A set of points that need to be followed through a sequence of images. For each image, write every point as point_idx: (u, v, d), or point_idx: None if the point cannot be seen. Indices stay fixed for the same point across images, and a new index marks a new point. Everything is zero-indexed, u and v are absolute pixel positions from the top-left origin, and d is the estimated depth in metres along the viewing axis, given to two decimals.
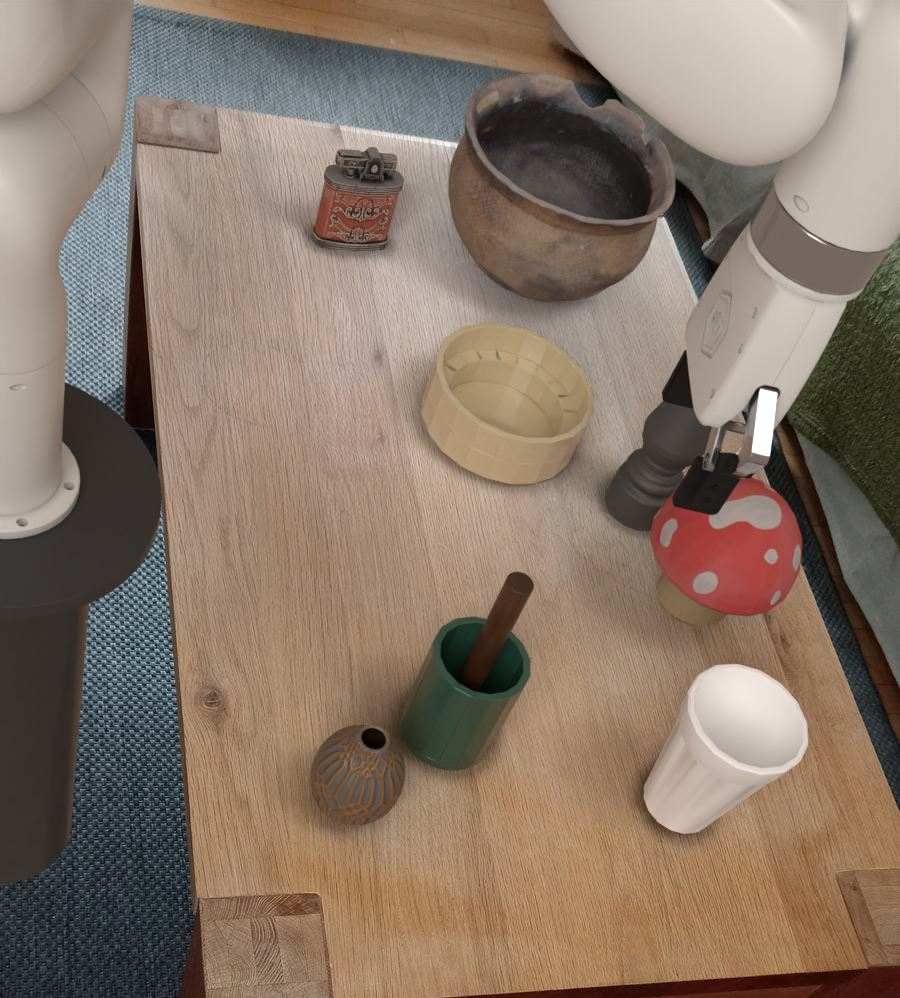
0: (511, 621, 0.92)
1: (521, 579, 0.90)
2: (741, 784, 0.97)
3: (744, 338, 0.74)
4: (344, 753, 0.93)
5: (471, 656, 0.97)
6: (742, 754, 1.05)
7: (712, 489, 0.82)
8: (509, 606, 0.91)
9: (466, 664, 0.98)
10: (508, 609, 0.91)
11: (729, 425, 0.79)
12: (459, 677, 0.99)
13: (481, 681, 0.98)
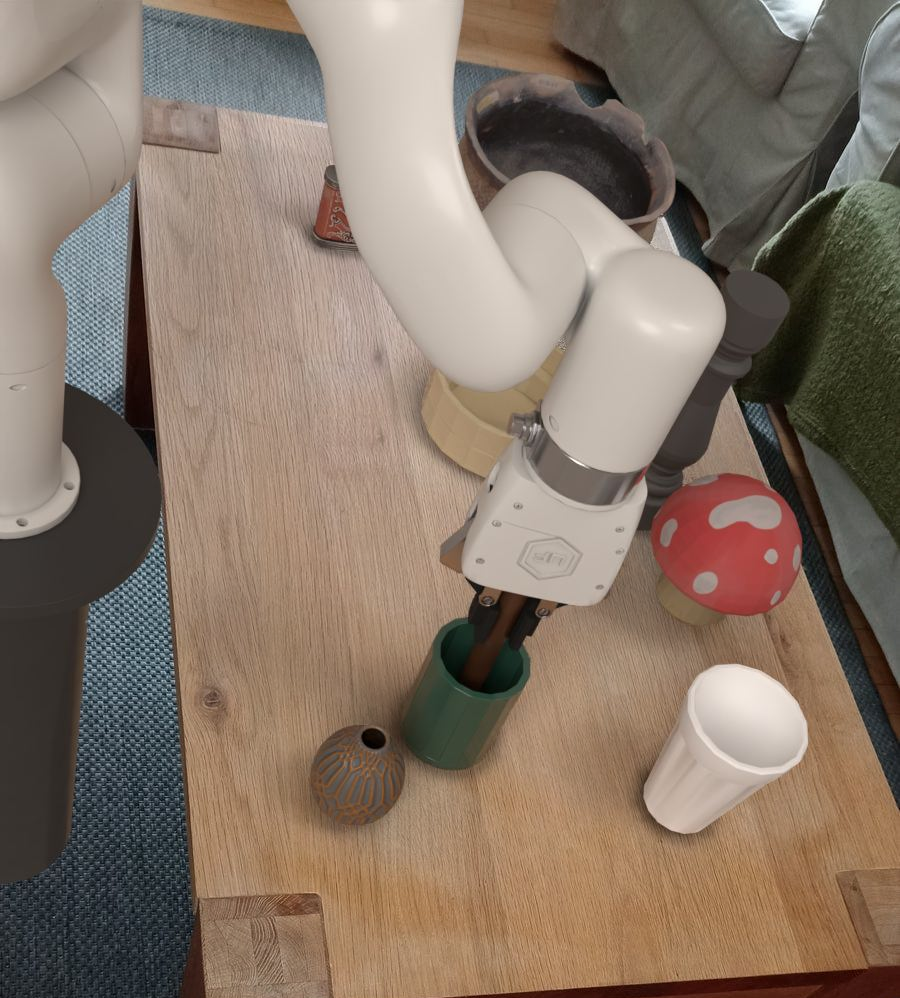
0: (511, 621, 0.92)
1: None
2: (741, 784, 0.97)
3: (620, 545, 0.83)
4: (344, 753, 0.93)
5: (471, 656, 0.97)
6: (742, 754, 1.05)
7: None
8: (508, 606, 0.91)
9: (466, 664, 0.98)
10: (508, 609, 0.91)
11: None
12: (459, 677, 0.99)
13: (481, 681, 0.98)
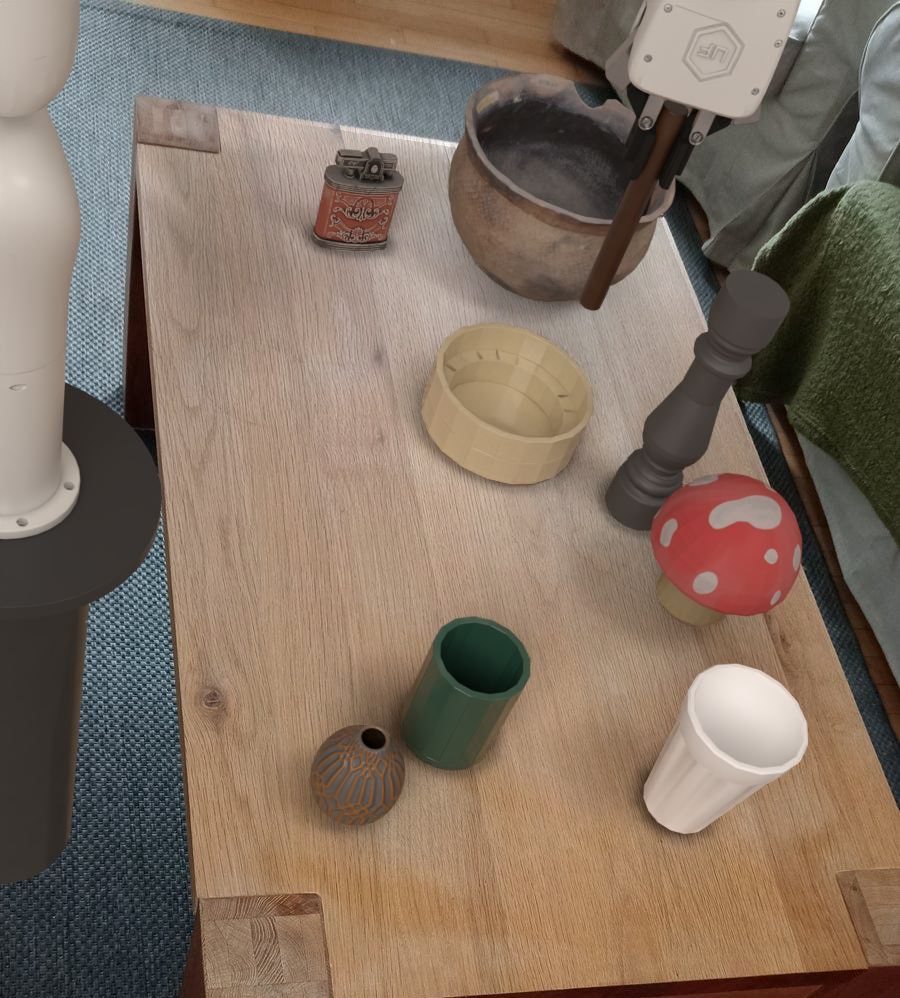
0: (664, 153, 0.99)
1: (677, 105, 0.97)
2: (741, 784, 0.97)
3: (779, 35, 0.90)
4: (344, 753, 0.93)
5: (621, 206, 1.04)
6: (742, 754, 1.05)
7: None
8: (664, 133, 0.98)
9: (615, 217, 1.05)
10: (663, 137, 0.98)
11: None
12: (607, 236, 1.06)
13: (628, 236, 1.06)
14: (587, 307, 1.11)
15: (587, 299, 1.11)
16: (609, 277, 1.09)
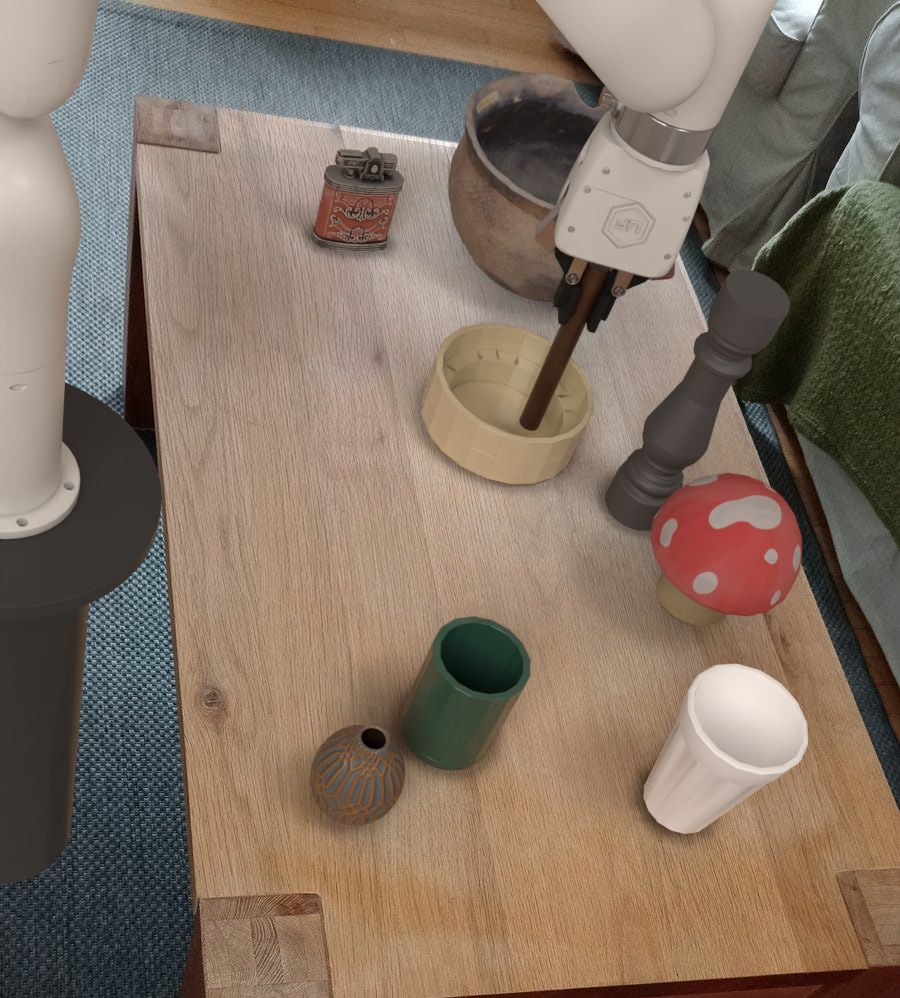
0: (590, 303, 1.11)
1: None
2: (741, 784, 0.97)
3: (686, 212, 1.02)
4: (344, 753, 0.93)
5: (554, 344, 1.15)
6: (742, 754, 1.05)
7: None
8: (589, 286, 1.10)
9: (549, 353, 1.16)
10: (589, 290, 1.10)
11: None
12: (542, 369, 1.18)
13: (561, 370, 1.17)
14: (526, 428, 1.23)
15: (526, 421, 1.22)
16: (545, 403, 1.20)
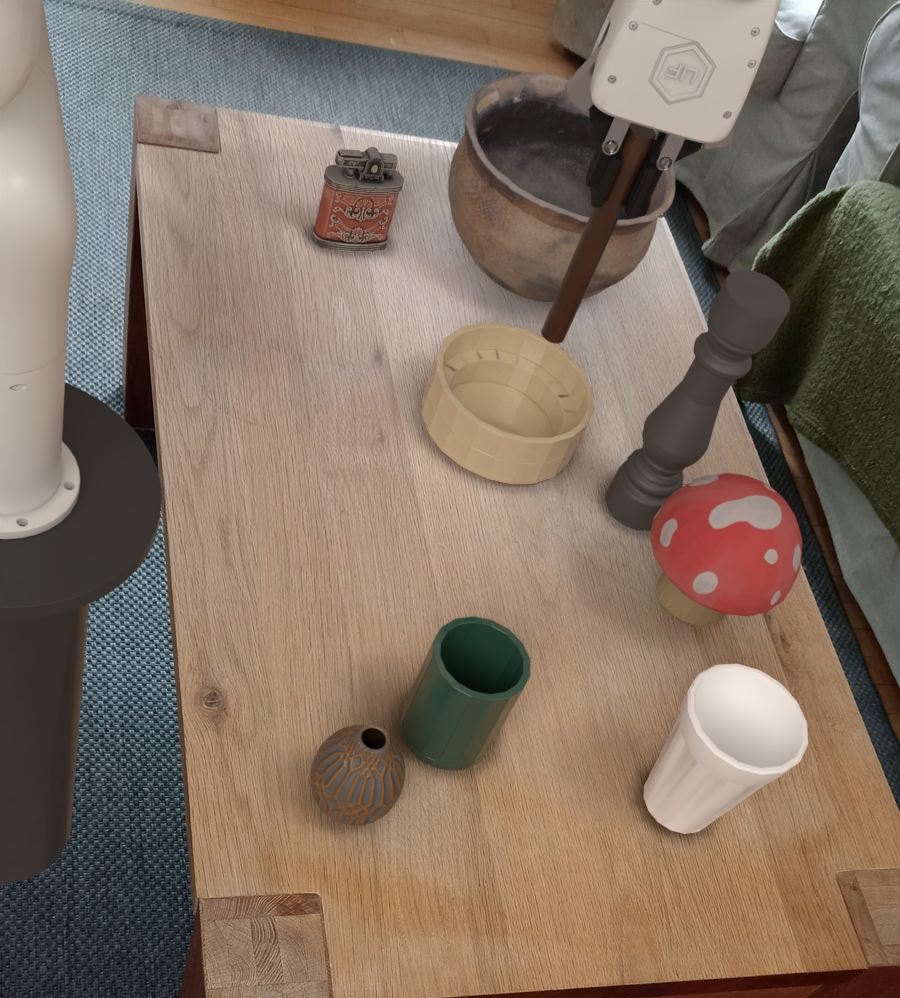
0: (630, 179, 0.93)
1: (643, 127, 0.91)
2: (741, 784, 0.97)
3: (753, 55, 0.84)
4: (344, 753, 0.93)
5: (585, 234, 0.97)
6: (742, 754, 1.05)
7: None
8: (630, 157, 0.91)
9: (579, 246, 0.98)
10: (629, 162, 0.92)
11: None
12: (570, 266, 1.00)
13: (593, 266, 0.99)
14: (550, 340, 1.05)
15: (550, 331, 1.04)
16: (573, 309, 1.02)
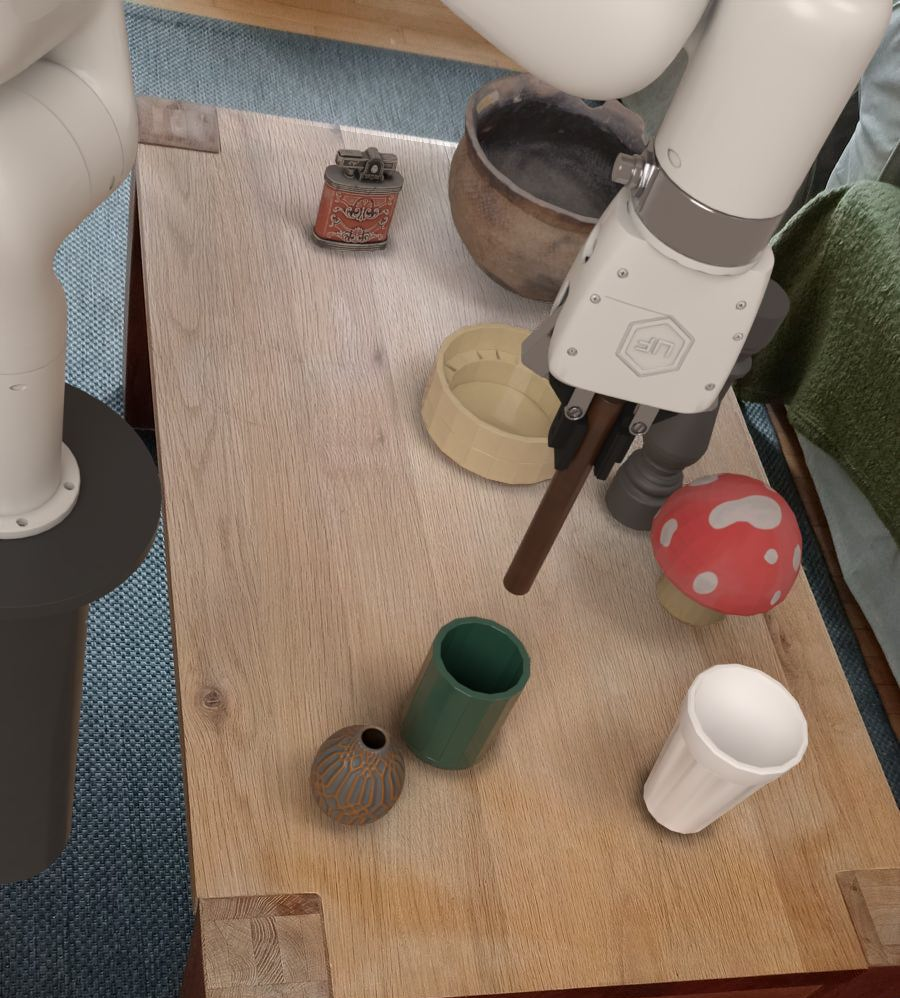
0: (599, 442, 0.79)
1: None
2: (741, 784, 0.97)
3: (739, 328, 0.70)
4: (344, 753, 0.93)
5: (549, 492, 0.84)
6: (742, 754, 1.05)
7: None
8: (598, 421, 0.78)
9: (542, 502, 0.85)
10: (597, 426, 0.78)
11: None
12: (533, 521, 0.86)
13: (559, 524, 0.86)
14: (513, 592, 0.91)
15: (512, 584, 0.91)
16: (538, 564, 0.89)
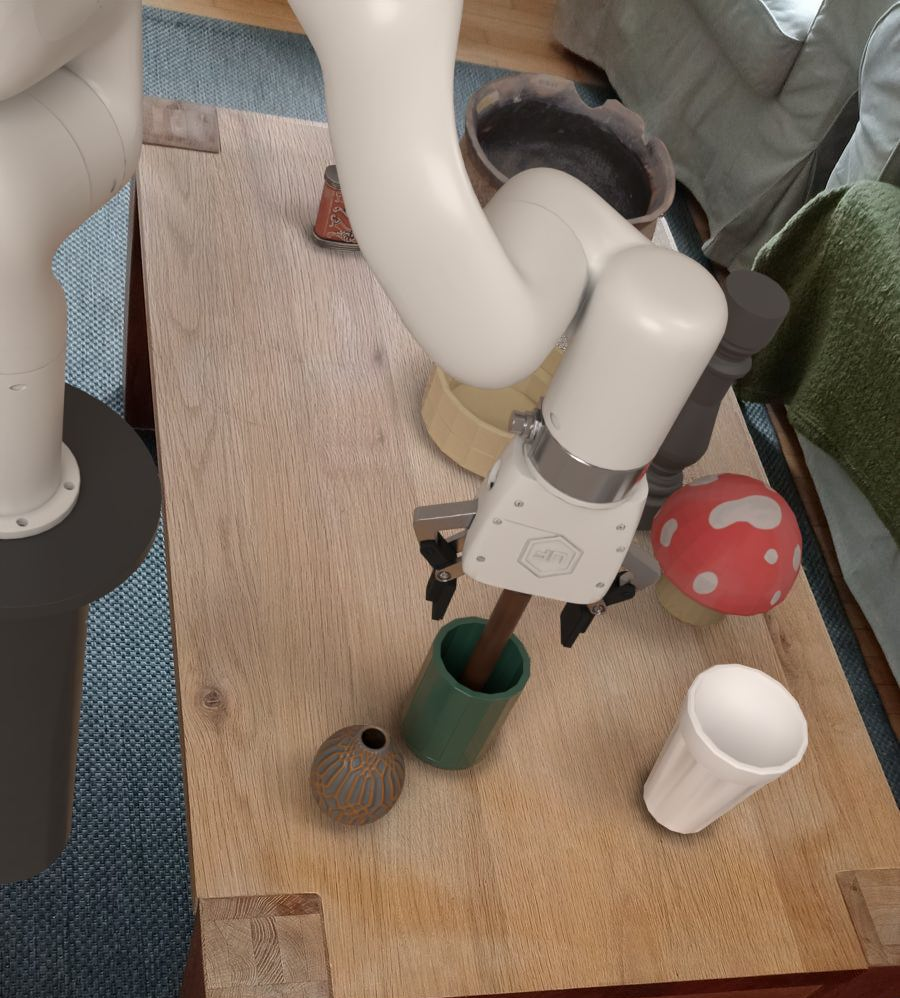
0: (513, 622, 0.92)
1: None
2: (741, 784, 0.97)
3: (621, 543, 0.83)
4: (344, 753, 0.93)
5: (473, 657, 0.97)
6: (742, 754, 1.05)
7: None
8: (510, 607, 0.91)
9: (468, 665, 0.98)
10: (510, 611, 0.91)
11: None
12: (460, 678, 0.99)
13: (483, 682, 0.98)
14: None
15: None
16: None
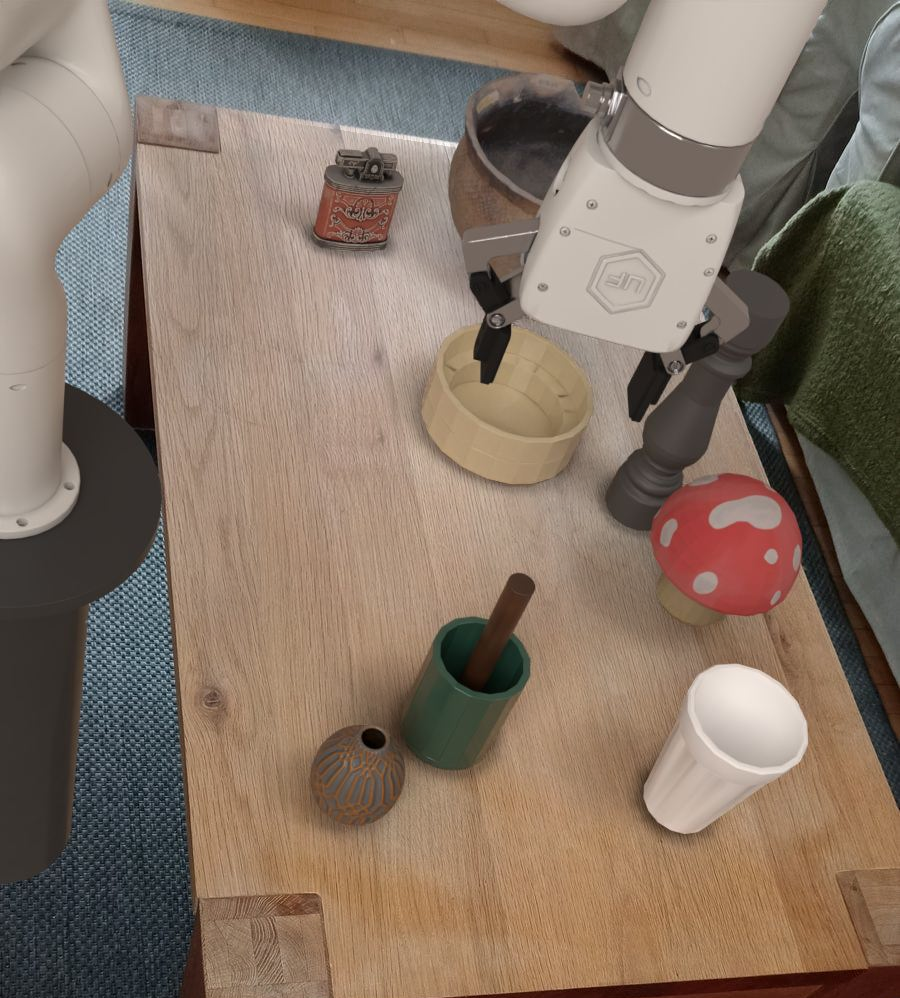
0: (513, 622, 0.92)
1: (523, 580, 0.90)
2: (741, 784, 0.97)
3: (710, 263, 0.70)
4: (344, 753, 0.93)
5: (473, 657, 0.97)
6: (742, 754, 1.05)
7: None
8: (510, 607, 0.91)
9: (468, 665, 0.98)
10: (510, 611, 0.91)
11: None
12: (460, 678, 0.99)
13: (483, 682, 0.98)
14: None
15: None
16: None
